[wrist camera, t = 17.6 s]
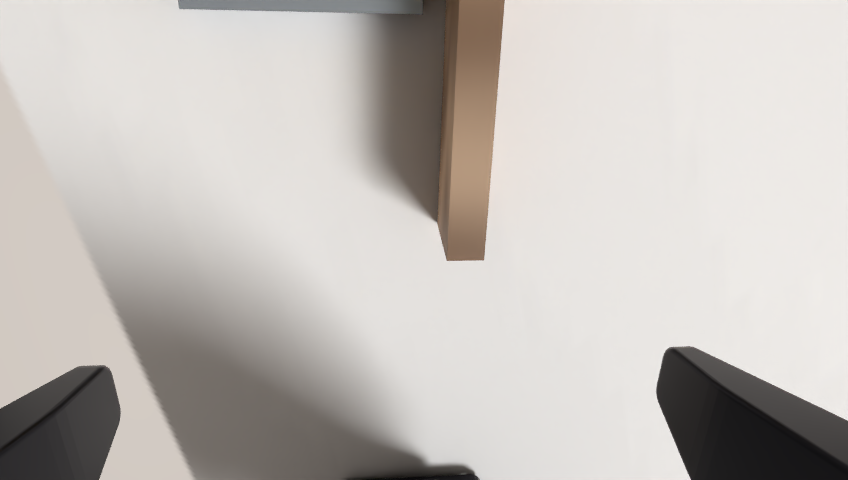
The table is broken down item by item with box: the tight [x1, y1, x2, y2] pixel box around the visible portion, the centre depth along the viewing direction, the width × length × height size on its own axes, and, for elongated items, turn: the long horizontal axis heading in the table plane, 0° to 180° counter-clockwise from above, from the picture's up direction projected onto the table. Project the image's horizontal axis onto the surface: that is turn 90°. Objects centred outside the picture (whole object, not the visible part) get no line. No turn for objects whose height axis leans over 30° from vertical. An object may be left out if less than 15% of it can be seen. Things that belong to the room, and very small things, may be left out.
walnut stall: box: [437, 0, 505, 261], centre depth 17 cm, size 14×22×3 cm, turn 88°
